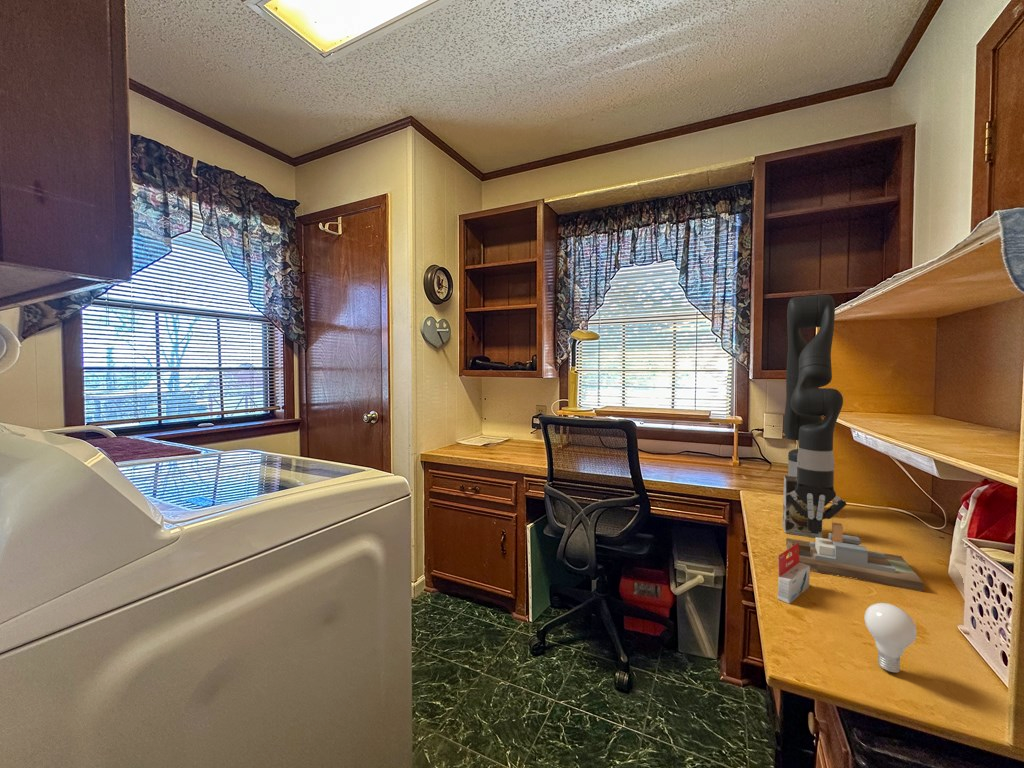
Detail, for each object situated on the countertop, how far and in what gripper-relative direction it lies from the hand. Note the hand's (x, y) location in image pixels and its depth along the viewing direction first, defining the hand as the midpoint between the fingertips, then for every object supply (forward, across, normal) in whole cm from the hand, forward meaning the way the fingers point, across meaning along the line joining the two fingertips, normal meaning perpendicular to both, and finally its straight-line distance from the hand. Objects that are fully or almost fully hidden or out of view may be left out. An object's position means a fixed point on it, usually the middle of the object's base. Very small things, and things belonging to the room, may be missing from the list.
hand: (814, 532), depth 104 cm
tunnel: (+5, -7, 0) cm, 9 cm away
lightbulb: (+7, -5, +40) cm, 41 cm away
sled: (+5, -5, 0) cm, 7 cm away
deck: (+7, -7, 0) cm, 10 cm away
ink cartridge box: (+8, +6, +20) cm, 22 cm away
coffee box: (+7, 0, -19) cm, 20 cm away
